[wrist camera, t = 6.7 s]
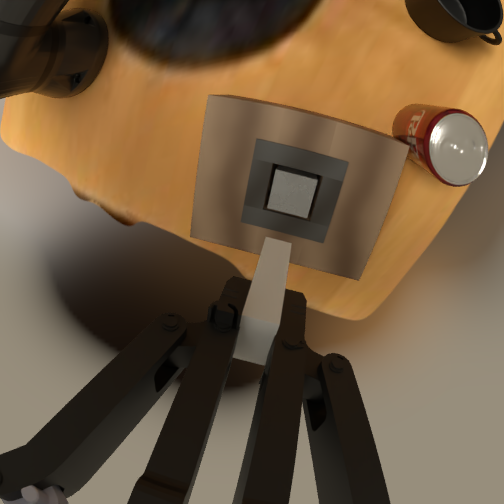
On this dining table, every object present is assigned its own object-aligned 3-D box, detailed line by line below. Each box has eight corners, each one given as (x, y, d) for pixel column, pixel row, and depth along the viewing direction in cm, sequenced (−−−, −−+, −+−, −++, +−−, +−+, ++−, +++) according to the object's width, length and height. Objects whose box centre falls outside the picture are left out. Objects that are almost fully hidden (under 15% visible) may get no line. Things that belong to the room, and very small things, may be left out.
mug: (467, 70, 24) (505, 68, 16) (392, 10, 23) (414, -12, 15) (490, 26, 19) (527, 18, 11) (419, -32, 18) (443, -57, 10)
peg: (276, 185, 36) (267, 207, 30) (283, 154, 34) (275, 169, 28) (308, 193, 36) (307, 218, 29) (316, 163, 34) (317, 180, 27)
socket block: (211, 210, 41) (189, 238, 34) (229, 94, 32) (207, 94, 25) (352, 247, 39) (359, 282, 32) (389, 135, 31) (410, 146, 24)
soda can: (402, 167, 33) (437, 198, 22) (382, 112, 30) (415, 120, 20) (449, 151, 30) (496, 177, 20) (432, 97, 27) (480, 101, 17)
